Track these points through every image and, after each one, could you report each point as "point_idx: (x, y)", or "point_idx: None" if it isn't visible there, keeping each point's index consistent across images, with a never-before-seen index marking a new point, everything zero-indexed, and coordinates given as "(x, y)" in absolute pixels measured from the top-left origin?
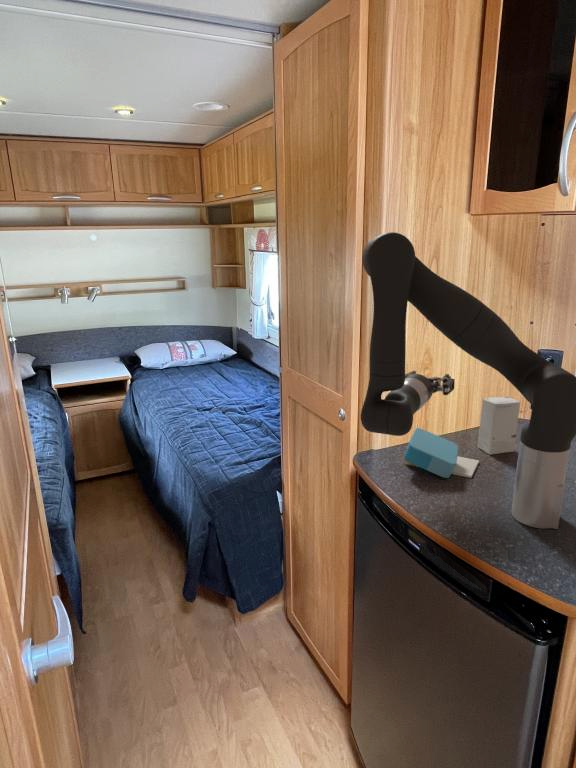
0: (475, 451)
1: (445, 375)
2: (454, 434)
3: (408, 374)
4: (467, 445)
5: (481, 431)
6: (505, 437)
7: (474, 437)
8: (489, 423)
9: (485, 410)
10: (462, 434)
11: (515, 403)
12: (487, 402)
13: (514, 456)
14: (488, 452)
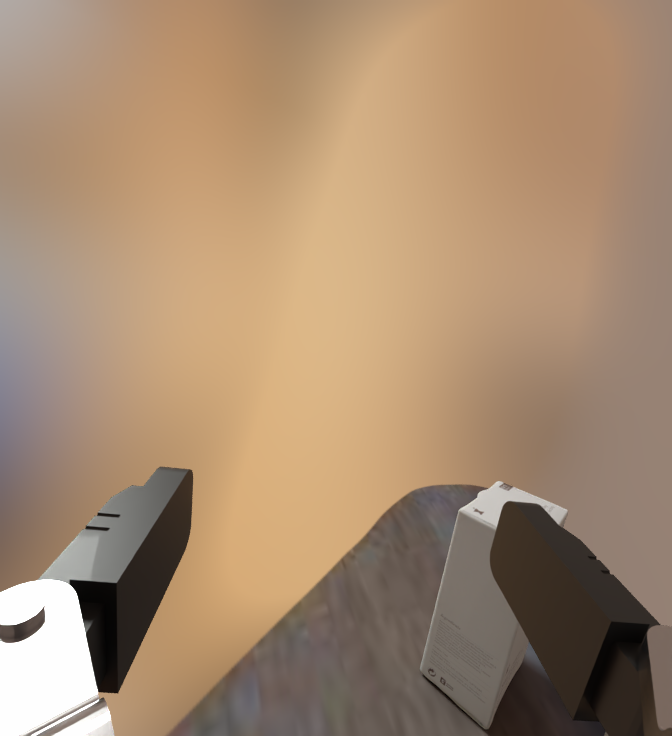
0: (430, 715)
1: (559, 545)
2: (320, 595)
3: (36, 634)
4: (384, 668)
5: (445, 628)
6: (522, 640)
7: (379, 597)
8: (496, 616)
9: (475, 559)
10: (341, 587)
11: (564, 520)
12: (490, 532)
13: (547, 701)
14: (482, 721)
